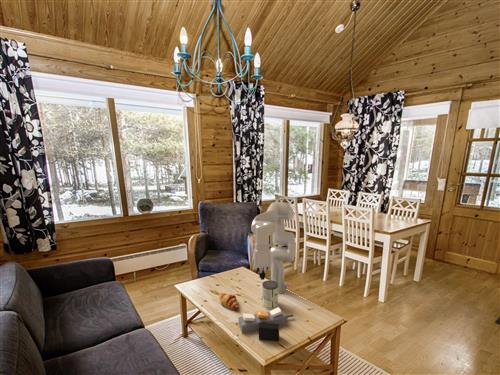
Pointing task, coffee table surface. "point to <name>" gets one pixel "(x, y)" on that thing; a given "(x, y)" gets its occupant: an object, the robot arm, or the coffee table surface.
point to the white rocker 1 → (248, 317)
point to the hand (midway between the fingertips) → (262, 278)
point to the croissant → (229, 300)
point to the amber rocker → (262, 314)
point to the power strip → (253, 325)
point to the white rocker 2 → (275, 312)
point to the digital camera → (268, 331)
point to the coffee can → (270, 294)
